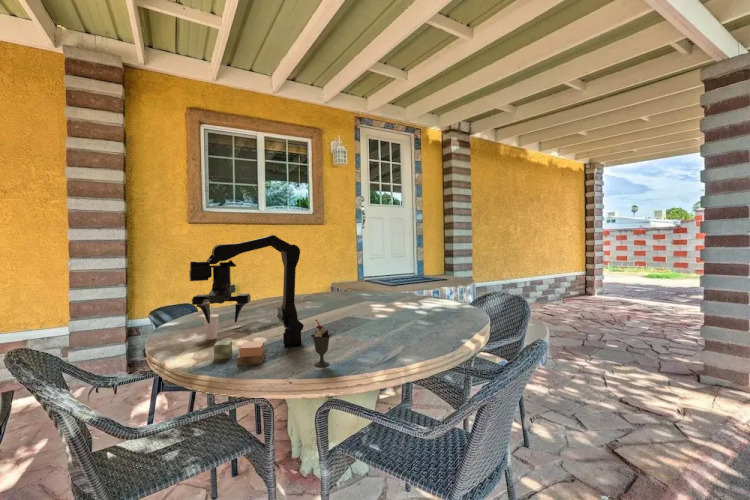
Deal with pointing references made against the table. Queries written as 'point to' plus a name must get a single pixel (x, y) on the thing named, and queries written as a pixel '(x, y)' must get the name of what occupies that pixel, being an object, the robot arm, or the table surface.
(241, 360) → the bottom slab
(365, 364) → the table surface
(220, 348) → the cube
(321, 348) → the sundae
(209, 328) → the smoothie
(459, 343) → the table surface
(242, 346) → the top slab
